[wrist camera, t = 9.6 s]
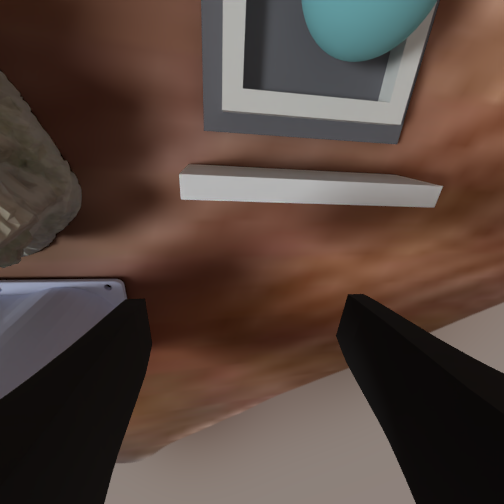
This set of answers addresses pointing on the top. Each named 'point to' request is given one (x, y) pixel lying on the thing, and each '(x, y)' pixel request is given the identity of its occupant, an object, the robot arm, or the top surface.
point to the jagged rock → (30, 181)
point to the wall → (304, 186)
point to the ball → (363, 25)
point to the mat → (300, 76)
